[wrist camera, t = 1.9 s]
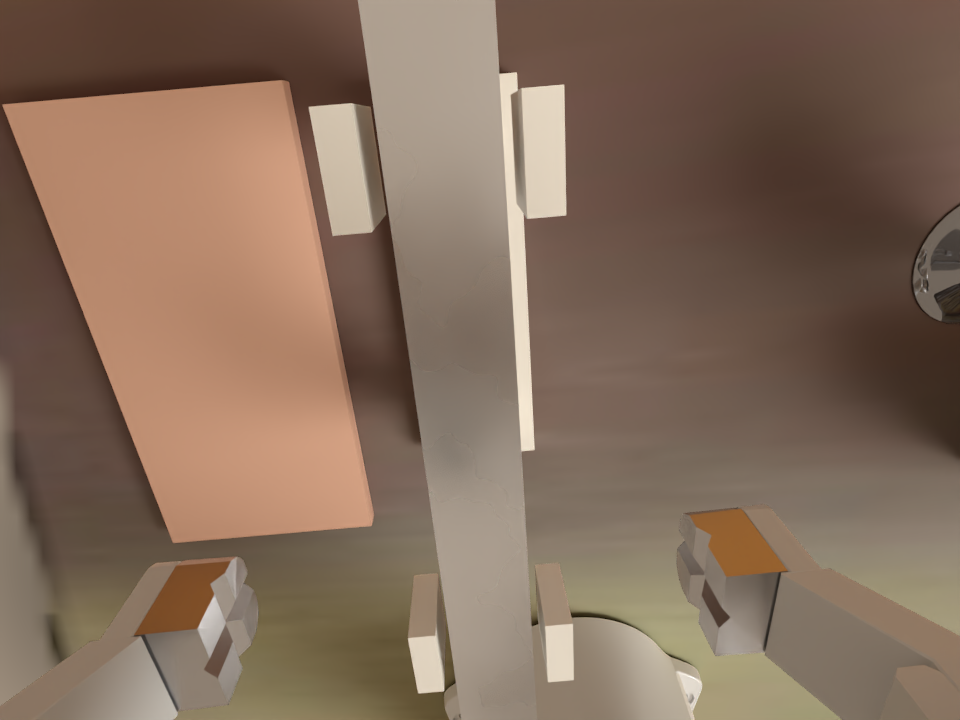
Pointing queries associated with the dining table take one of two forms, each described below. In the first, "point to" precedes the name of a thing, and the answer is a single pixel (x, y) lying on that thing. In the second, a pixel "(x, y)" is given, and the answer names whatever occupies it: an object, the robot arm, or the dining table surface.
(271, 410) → the terracotta board
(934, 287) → the wine glass
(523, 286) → the cradle stand
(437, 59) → the aluminium rail
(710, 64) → the dining table surface
